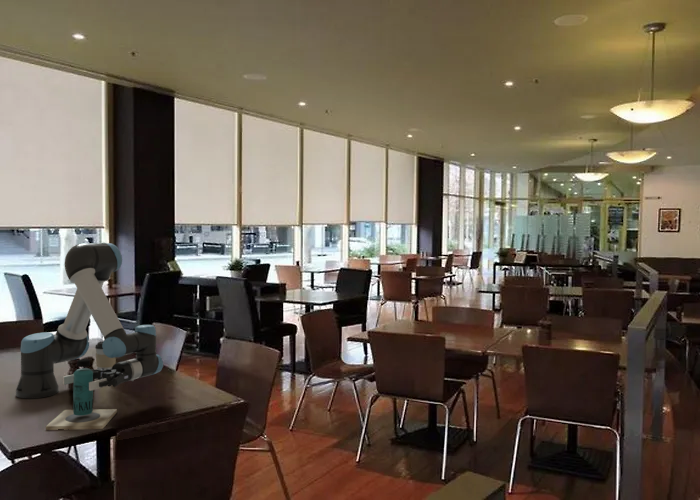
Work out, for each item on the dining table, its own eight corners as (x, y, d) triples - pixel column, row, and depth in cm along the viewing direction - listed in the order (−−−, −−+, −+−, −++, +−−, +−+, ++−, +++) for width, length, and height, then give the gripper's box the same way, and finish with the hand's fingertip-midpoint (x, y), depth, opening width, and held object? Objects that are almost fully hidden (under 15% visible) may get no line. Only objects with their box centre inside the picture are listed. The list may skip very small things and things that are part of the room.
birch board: (45, 429, 202) (45, 426, 202) (64, 413, 220) (64, 409, 220) (102, 429, 204) (102, 425, 204) (116, 412, 222) (116, 408, 222)
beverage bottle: (76, 414, 215) (76, 357, 214) (96, 414, 216) (96, 357, 215) (69, 420, 209) (69, 361, 208) (89, 419, 209) (89, 361, 208)
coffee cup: (109, 377, 270) (109, 344, 270) (90, 376, 272) (90, 342, 271) (120, 373, 279) (120, 340, 278) (102, 371, 281) (102, 339, 280)
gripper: (150, 386, 222) (101, 400, 203) (103, 376, 234) (52, 389, 215) (150, 365, 222) (101, 377, 203) (103, 356, 234) (52, 367, 215)
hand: (76, 383), depth 209 cm, fingers open, 13 cm apart
